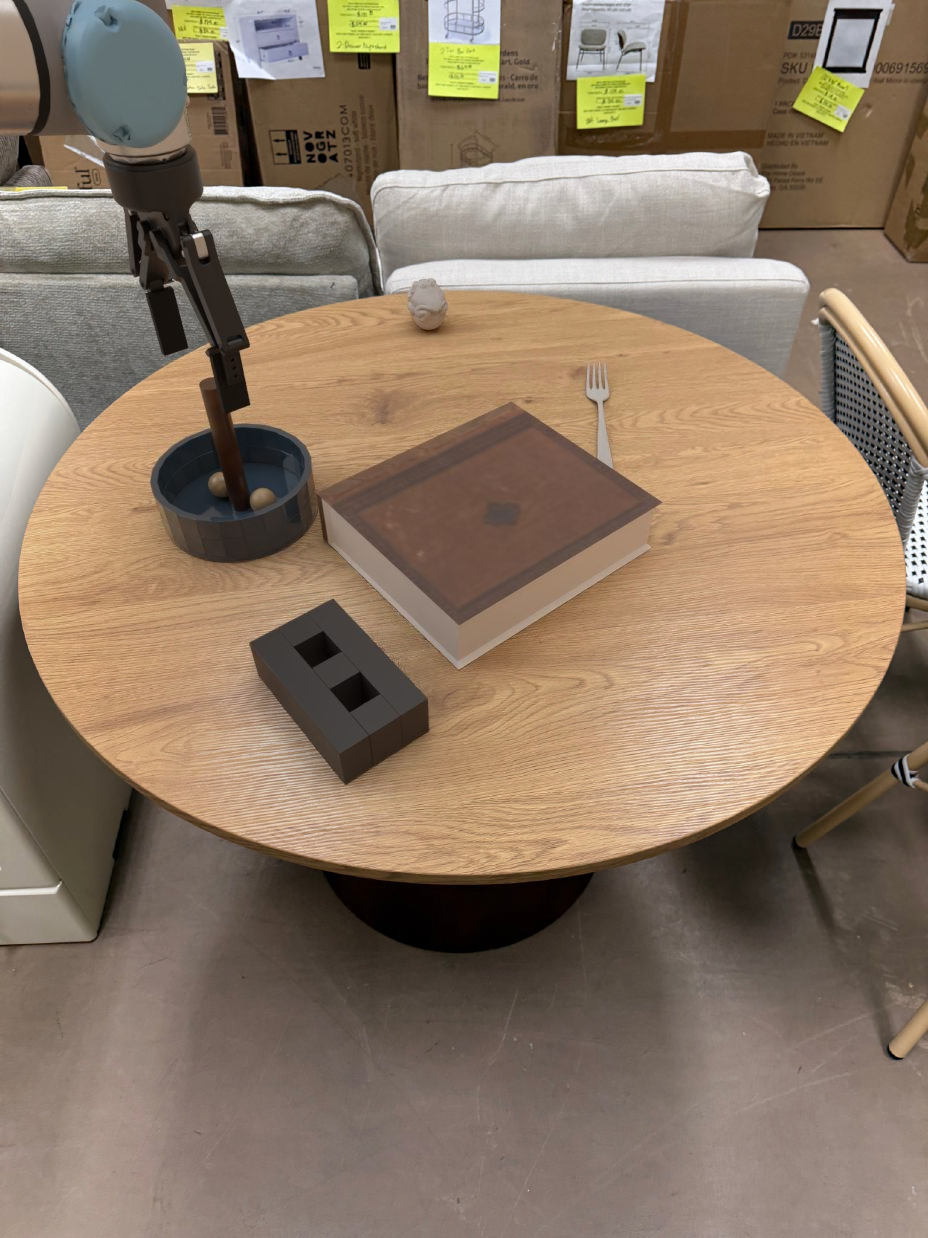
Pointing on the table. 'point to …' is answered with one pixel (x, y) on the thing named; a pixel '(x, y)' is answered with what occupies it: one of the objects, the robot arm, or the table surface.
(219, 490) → the bead
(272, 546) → the bowl
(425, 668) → the table surface
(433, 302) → the grey lumpy oval lump
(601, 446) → the fork
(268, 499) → the bead
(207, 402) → the stirring stick
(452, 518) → the book
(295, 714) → the holder
